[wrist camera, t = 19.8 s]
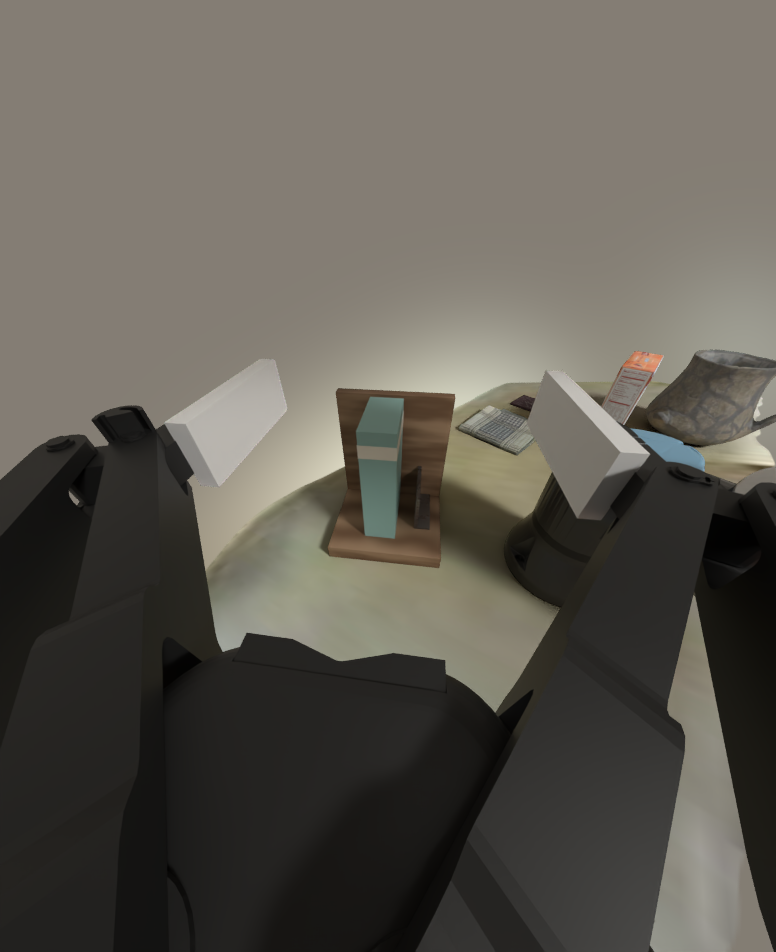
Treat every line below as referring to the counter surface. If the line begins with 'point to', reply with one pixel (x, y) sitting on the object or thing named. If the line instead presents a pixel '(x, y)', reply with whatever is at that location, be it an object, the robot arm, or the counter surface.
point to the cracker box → (630, 385)
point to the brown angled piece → (420, 447)
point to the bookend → (421, 506)
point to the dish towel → (500, 429)
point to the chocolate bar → (524, 402)
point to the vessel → (713, 398)
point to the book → (380, 464)
